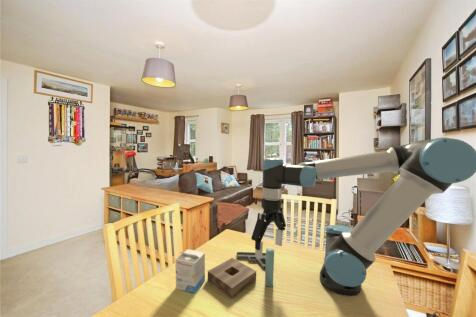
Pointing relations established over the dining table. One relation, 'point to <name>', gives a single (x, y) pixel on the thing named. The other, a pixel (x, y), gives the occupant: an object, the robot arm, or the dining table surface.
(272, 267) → the peg
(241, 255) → the handgun
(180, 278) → the ink box
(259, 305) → the dining table surface
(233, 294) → the socket block
